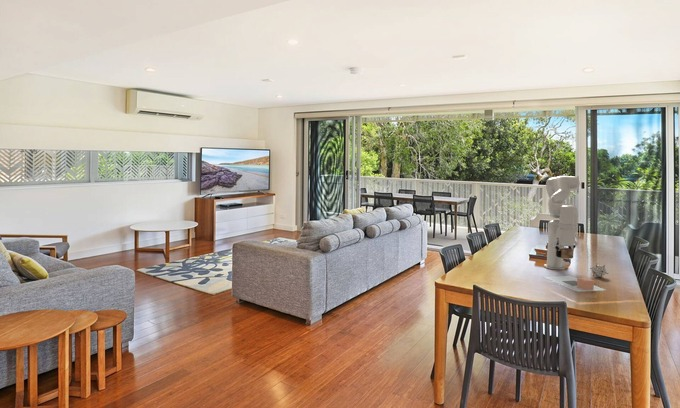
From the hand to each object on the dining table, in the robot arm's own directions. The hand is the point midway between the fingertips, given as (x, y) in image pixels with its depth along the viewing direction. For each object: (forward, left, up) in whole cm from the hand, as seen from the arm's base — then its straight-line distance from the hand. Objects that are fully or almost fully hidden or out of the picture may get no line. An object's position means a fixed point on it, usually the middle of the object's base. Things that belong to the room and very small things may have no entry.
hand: (564, 256), depth 245 cm
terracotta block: (0, +18, -13) cm, 23 cm away
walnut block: (0, 0, 0) cm, 0 cm away
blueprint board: (0, +9, -14) cm, 17 cm away
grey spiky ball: (-27, -4, -14) cm, 31 cm away
